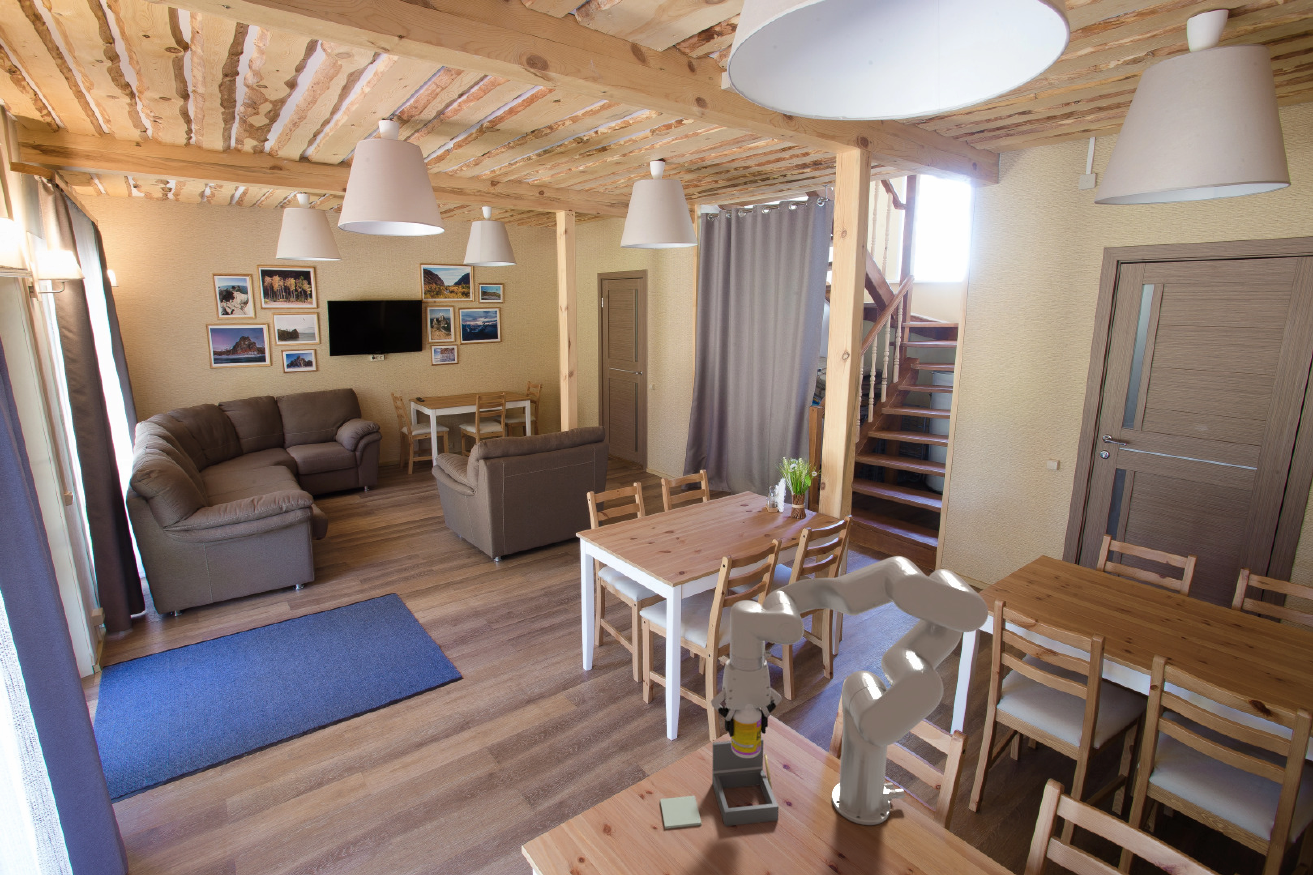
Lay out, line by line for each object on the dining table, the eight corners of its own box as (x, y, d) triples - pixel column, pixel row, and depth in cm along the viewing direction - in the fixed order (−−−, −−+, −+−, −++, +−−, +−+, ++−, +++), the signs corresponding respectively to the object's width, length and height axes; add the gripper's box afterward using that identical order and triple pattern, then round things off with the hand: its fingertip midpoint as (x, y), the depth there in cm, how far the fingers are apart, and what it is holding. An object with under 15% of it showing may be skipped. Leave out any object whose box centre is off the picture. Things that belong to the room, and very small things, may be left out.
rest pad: (694, 797, 147) (694, 795, 147) (701, 824, 139) (701, 822, 139) (660, 801, 146) (660, 798, 146) (665, 828, 138) (665, 826, 138)
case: (765, 778, 153) (766, 737, 151) (782, 819, 140) (783, 775, 138) (712, 783, 151) (712, 742, 149) (724, 825, 139) (725, 781, 137)
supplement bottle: (760, 761, 139) (761, 708, 136) (729, 757, 140) (730, 705, 138) (761, 741, 145) (762, 690, 143) (732, 738, 147) (732, 687, 144)
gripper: (780, 646, 143) (778, 717, 147) (704, 652, 141) (704, 724, 145) (791, 663, 136) (789, 738, 139) (711, 670, 134) (711, 746, 137)
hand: (746, 730), depth 142 cm, fingers closed on supplement bottle, 6 cm apart
